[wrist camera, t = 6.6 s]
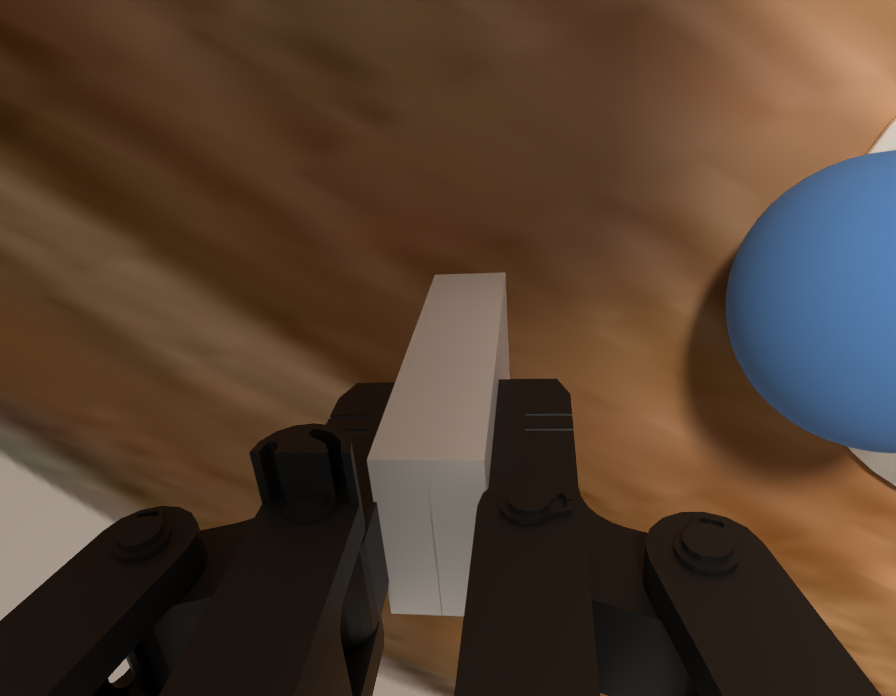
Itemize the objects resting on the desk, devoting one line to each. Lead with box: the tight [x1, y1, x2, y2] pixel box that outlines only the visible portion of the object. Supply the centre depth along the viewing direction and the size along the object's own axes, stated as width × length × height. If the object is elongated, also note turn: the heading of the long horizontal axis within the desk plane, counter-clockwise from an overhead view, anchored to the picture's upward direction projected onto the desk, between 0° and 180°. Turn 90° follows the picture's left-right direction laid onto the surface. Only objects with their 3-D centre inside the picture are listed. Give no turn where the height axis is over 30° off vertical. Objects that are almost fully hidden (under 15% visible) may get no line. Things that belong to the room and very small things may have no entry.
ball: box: [726, 150, 896, 453], centre depth 13 cm, size 6×6×6 cm
